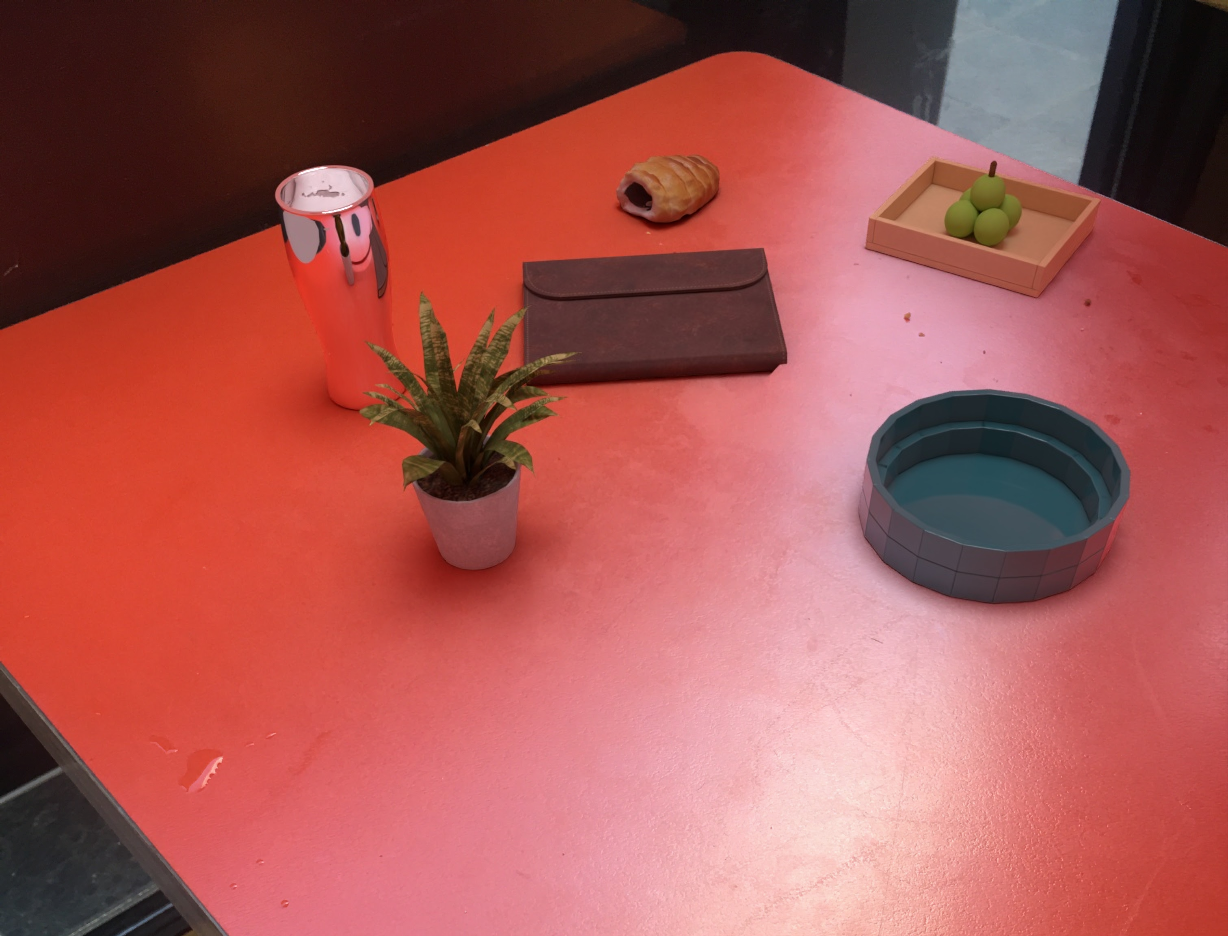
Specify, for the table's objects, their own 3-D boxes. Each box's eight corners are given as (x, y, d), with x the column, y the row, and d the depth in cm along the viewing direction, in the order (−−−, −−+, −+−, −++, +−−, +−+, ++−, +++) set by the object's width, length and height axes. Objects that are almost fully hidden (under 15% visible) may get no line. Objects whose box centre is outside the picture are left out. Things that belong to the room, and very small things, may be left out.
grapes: (1022, 226, 103) (1039, 155, 99) (996, 255, 101) (1012, 183, 96) (963, 210, 105) (977, 139, 100) (935, 238, 103) (948, 167, 98)
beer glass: (364, 350, 97) (322, 154, 85) (432, 378, 94) (398, 179, 82) (303, 395, 93) (249, 197, 81) (371, 425, 91) (326, 225, 79)
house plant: (532, 654, 76) (505, 430, 63) (335, 605, 79) (270, 383, 66) (612, 511, 84) (602, 286, 71) (429, 472, 87) (388, 249, 74)
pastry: (685, 169, 112) (686, 126, 109) (739, 195, 109) (741, 151, 106) (610, 207, 109) (608, 163, 106) (662, 235, 106) (663, 190, 103)
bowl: (1142, 500, 83) (1167, 437, 79) (1051, 647, 75) (1072, 585, 71) (921, 425, 88) (933, 363, 84) (815, 554, 81) (823, 492, 77)
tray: (1092, 229, 104) (1101, 199, 102) (1037, 298, 98) (1045, 266, 96) (927, 185, 109) (932, 155, 107) (864, 248, 103) (868, 217, 101)
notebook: (786, 372, 93) (788, 348, 91) (526, 387, 93) (523, 364, 91) (761, 267, 102) (763, 244, 100) (524, 281, 102) (522, 258, 100)
